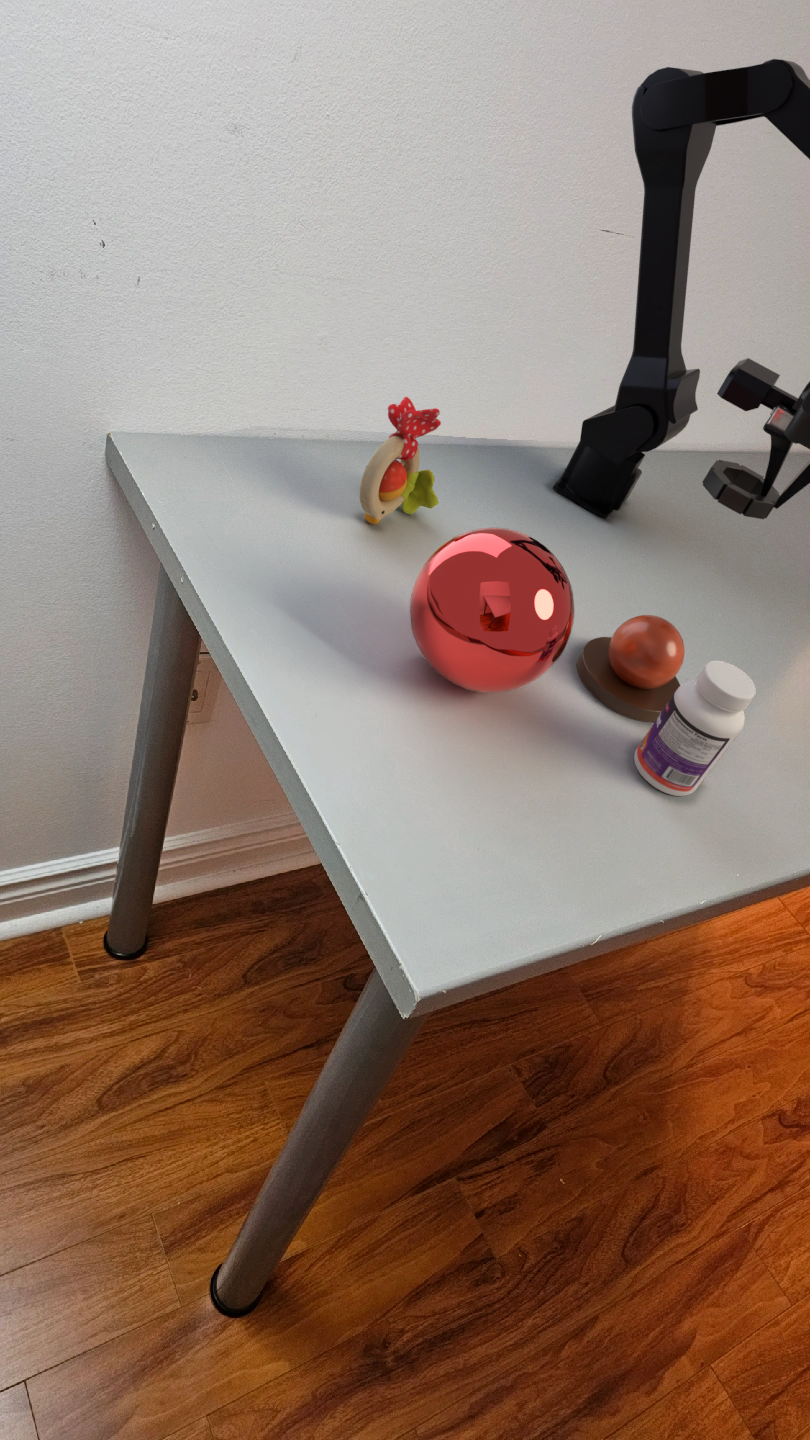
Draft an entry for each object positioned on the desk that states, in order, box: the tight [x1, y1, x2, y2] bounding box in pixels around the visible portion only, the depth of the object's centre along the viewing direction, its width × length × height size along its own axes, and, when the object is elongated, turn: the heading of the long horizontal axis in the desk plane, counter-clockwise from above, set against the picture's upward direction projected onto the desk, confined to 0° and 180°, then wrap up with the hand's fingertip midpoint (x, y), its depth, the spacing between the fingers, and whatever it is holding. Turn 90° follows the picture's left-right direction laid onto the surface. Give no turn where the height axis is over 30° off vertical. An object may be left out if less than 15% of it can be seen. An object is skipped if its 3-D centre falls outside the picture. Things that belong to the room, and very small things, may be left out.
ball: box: [409, 526, 575, 694], centre depth 77 cm, size 12×12×12 cm
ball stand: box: [576, 614, 685, 723], centre depth 86 cm, size 9×9×6 cm
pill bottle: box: [633, 660, 757, 797], centre depth 78 cm, size 5×5×10 cm
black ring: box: [701, 459, 781, 520], centre depth 102 cm, size 7×7×2 cm
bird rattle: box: [359, 396, 442, 525], centre depth 91 cm, size 6×11×9 cm
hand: (768, 502), depth 102 cm, fingers closed on black ring, 1 cm apart
